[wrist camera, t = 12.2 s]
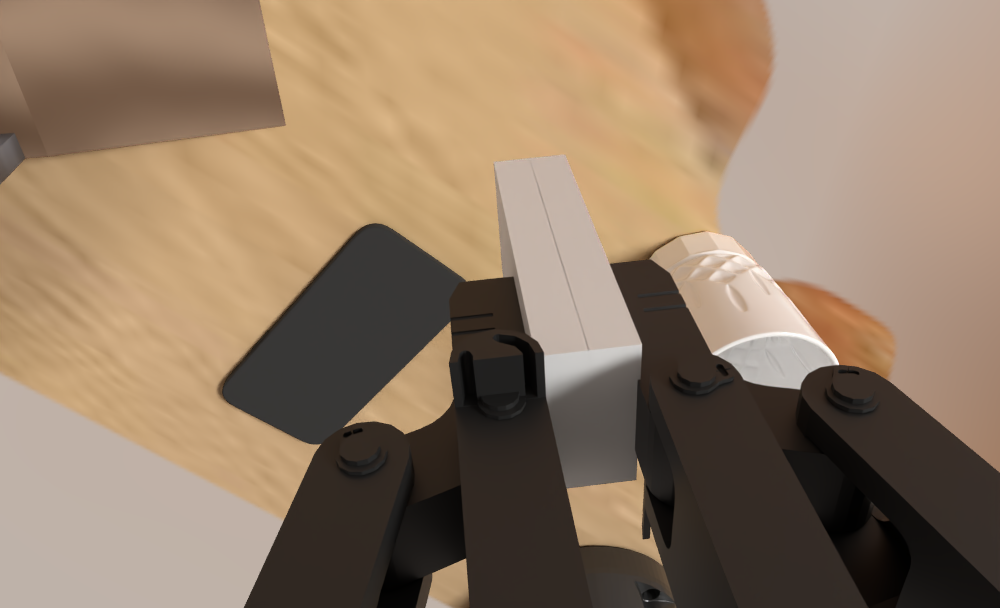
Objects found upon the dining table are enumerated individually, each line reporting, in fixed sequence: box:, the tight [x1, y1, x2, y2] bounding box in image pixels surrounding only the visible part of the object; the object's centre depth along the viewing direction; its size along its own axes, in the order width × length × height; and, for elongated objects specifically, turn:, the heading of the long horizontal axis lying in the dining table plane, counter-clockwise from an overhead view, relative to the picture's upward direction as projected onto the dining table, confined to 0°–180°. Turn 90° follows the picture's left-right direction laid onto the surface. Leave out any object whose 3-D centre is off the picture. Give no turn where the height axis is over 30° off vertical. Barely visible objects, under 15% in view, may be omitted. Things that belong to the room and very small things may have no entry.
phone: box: [222, 223, 466, 444], centre depth 44 cm, size 7×1×15 cm
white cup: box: [649, 231, 839, 389], centre depth 40 cm, size 8×8×10 cm
